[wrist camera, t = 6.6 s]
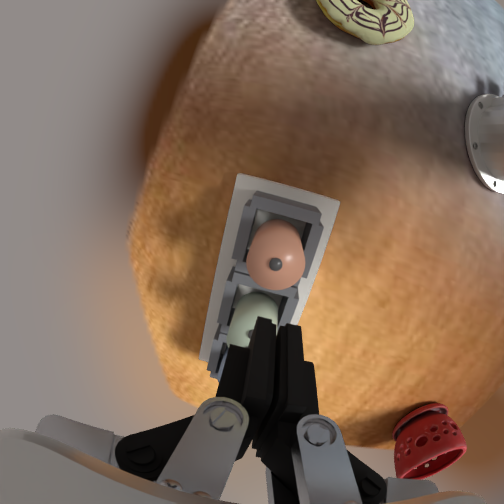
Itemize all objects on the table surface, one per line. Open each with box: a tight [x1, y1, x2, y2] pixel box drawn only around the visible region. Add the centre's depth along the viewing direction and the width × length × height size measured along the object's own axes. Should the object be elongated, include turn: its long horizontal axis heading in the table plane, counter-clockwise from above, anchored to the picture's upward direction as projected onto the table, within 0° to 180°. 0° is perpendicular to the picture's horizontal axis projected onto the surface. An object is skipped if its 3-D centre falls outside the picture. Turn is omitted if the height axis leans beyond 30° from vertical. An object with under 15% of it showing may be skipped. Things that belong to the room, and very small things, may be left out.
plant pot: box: [392, 403, 467, 480], centre depth 31 cm, size 13×13×12 cm
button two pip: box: [226, 292, 278, 348], centre depth 23 cm, size 4×4×5 cm
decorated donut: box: [316, 0, 414, 45], centre depth 17 cm, size 10×11×4 cm
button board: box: [199, 173, 340, 379], centre depth 28 cm, size 23×10×5 cm, turn 166°
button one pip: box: [246, 219, 305, 290], centre depth 21 cm, size 4×4×5 cm
